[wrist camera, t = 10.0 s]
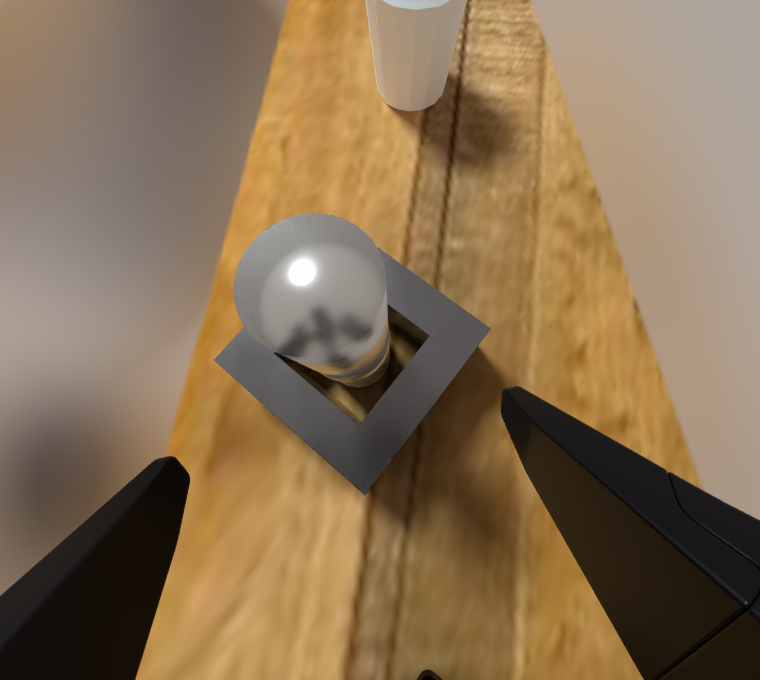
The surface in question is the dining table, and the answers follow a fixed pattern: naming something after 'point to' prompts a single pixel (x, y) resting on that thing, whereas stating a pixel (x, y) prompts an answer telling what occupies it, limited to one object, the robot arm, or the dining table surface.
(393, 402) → the collar block
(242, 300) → the grey rounded cylinder
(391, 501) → the dining table surface
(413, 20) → the white cylinder
